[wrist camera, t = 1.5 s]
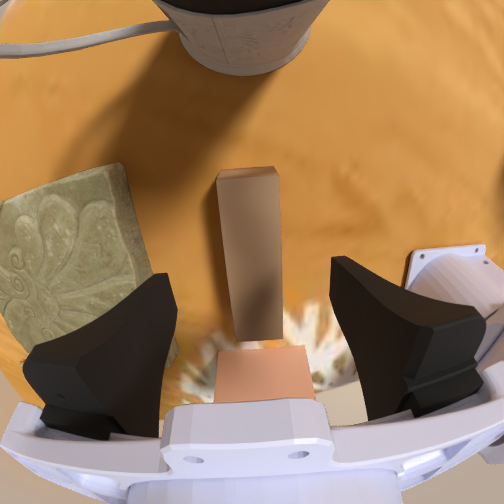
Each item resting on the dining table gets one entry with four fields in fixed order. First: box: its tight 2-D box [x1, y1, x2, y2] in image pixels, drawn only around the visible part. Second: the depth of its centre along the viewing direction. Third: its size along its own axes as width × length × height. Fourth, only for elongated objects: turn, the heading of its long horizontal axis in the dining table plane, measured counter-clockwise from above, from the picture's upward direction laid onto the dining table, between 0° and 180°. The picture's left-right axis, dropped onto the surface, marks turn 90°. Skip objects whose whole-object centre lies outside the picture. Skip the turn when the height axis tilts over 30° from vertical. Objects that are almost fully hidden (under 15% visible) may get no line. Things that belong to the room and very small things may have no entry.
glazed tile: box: [214, 345, 316, 403], centre depth 23 cm, size 8×2×7 cm, turn 94°
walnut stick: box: [216, 166, 283, 342], centre depth 20 cm, size 4×12×4 cm, turn 4°
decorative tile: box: [0, 162, 179, 368], centre depth 21 cm, size 19×20×4 cm
